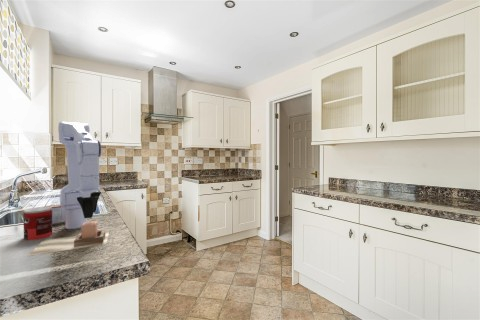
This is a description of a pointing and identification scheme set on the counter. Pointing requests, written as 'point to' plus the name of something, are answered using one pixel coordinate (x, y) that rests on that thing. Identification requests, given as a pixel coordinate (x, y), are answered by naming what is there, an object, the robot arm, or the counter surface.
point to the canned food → (37, 223)
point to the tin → (57, 214)
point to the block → (89, 229)
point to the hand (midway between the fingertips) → (90, 215)
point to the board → (70, 243)
